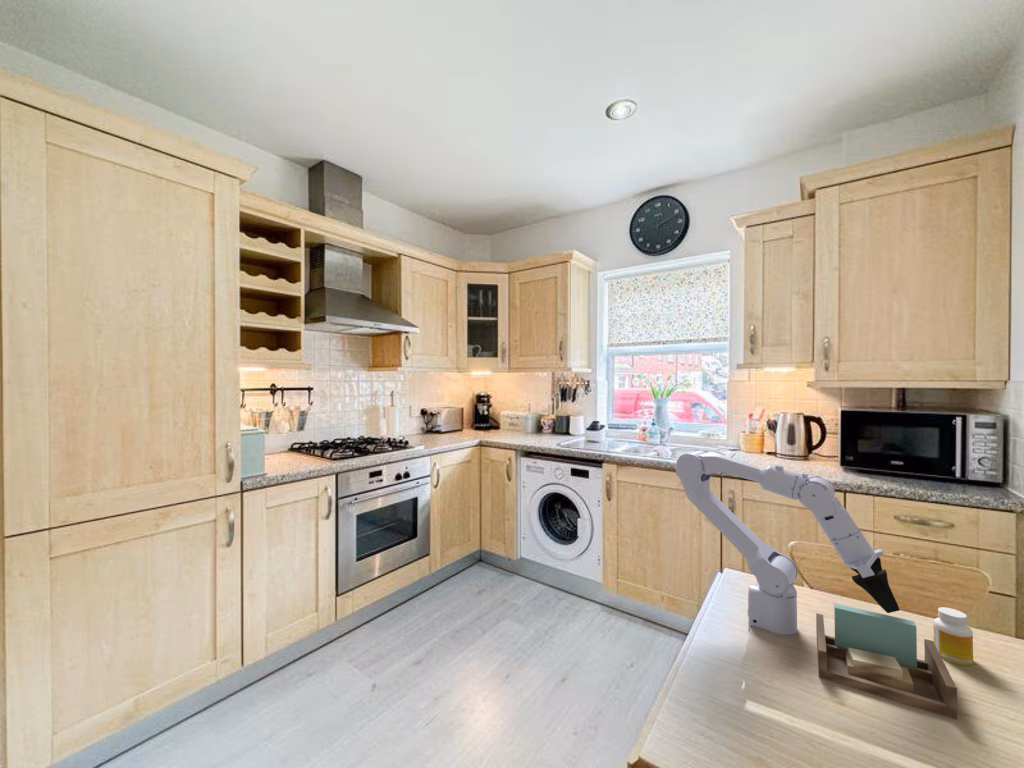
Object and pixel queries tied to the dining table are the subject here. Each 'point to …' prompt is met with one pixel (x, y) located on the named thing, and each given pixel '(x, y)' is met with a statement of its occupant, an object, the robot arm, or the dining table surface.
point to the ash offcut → (875, 662)
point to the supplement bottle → (953, 636)
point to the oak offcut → (883, 677)
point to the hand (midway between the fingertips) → (890, 604)
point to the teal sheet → (876, 633)
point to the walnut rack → (928, 679)
